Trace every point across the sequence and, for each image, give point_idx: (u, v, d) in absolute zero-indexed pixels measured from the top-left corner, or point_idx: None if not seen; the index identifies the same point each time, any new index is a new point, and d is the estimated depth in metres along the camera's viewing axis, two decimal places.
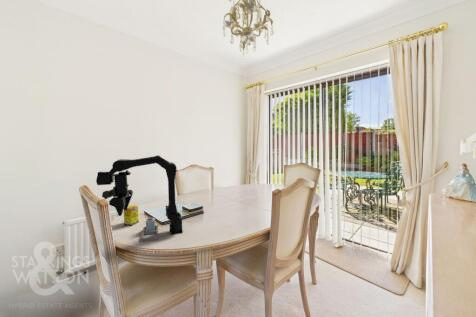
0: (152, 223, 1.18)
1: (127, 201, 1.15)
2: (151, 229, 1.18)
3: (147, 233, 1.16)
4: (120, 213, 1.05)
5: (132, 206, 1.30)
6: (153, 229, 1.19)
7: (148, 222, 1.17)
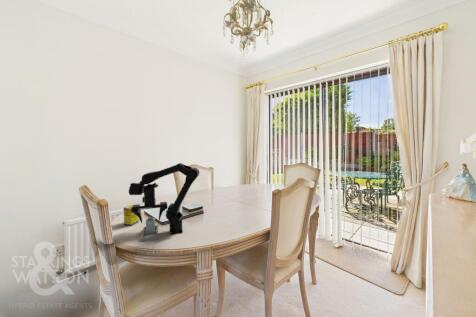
0: (152, 223, 1.18)
1: (159, 213, 1.20)
2: (151, 229, 1.18)
3: (147, 233, 1.16)
4: None
5: None
6: (153, 229, 1.19)
7: (148, 222, 1.17)
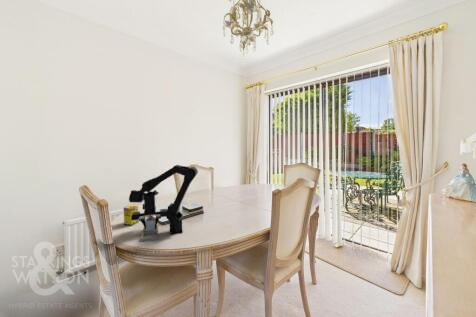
0: (152, 223, 1.18)
1: (155, 221, 1.20)
2: (151, 229, 1.18)
3: (147, 233, 1.16)
4: None
5: (132, 206, 1.30)
6: (153, 229, 1.19)
7: (148, 222, 1.17)
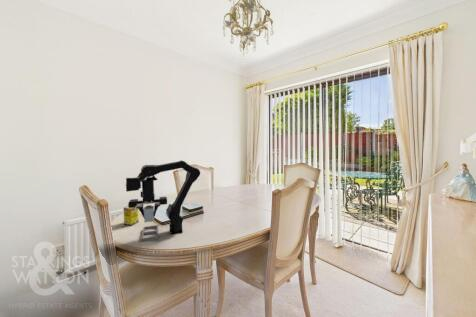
0: (151, 211, 1.10)
1: (154, 209, 1.12)
2: (150, 218, 1.10)
3: (147, 233, 1.16)
4: None
5: None
6: (152, 218, 1.11)
7: (146, 210, 1.09)
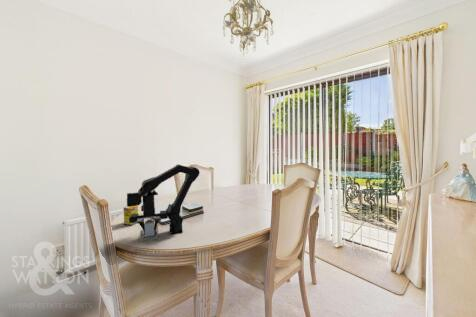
0: (152, 226, 1.11)
1: None
2: (150, 232, 1.11)
3: None
4: None
5: (132, 206, 1.30)
6: (152, 232, 1.11)
7: (147, 225, 1.10)
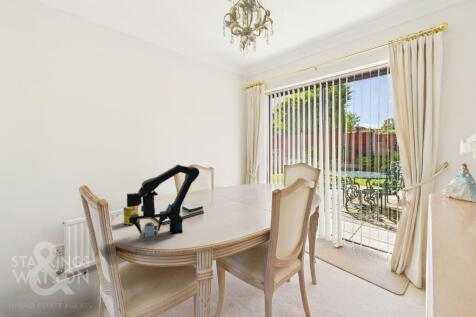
0: (152, 229, 1.11)
1: None
2: (150, 235, 1.11)
3: None
4: None
5: None
6: (152, 235, 1.12)
7: (147, 227, 1.10)
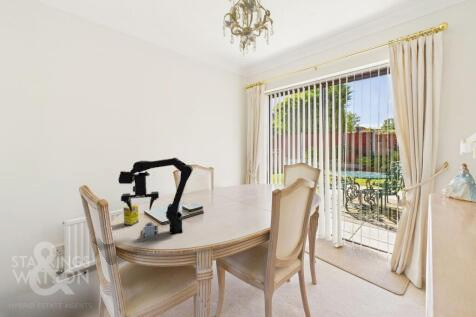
0: (152, 229, 1.11)
1: (150, 203, 1.17)
2: (150, 235, 1.11)
3: None
4: (130, 209, 1.14)
5: (132, 206, 1.30)
6: (152, 235, 1.12)
7: (147, 227, 1.10)
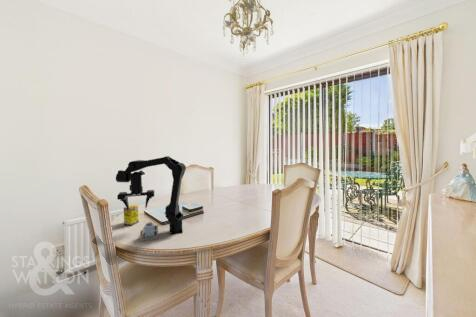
0: (152, 229, 1.11)
1: None
2: (150, 235, 1.11)
3: None
4: None
5: (132, 206, 1.30)
6: (152, 235, 1.12)
7: (147, 227, 1.10)
